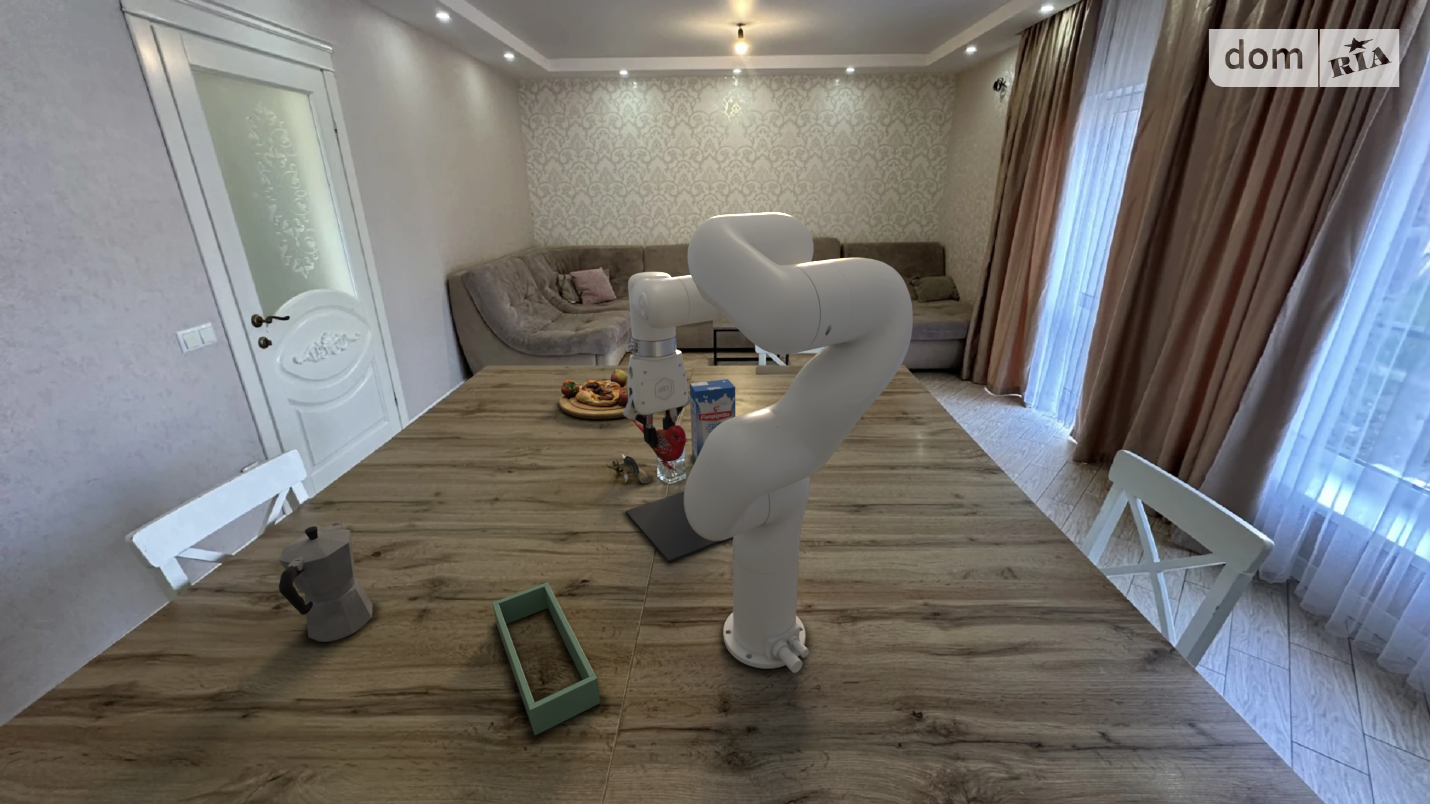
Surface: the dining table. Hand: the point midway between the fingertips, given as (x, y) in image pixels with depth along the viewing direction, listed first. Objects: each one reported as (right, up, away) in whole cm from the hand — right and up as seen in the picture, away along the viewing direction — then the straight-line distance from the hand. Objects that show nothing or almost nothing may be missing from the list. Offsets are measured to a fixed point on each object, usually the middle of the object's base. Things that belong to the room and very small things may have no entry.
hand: (660, 441), depth 101 cm
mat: (+3, -18, +12) cm, 22 cm away
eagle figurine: (-10, -11, +30) cm, 34 cm away
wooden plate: (-24, +7, +78) cm, 82 cm away
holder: (-15, -31, -20) cm, 40 cm away
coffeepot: (-50, -29, -13) cm, 60 cm away
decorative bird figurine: (0, -4, +2) cm, 5 cm away
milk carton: (+10, -7, +39) cm, 41 cm away
